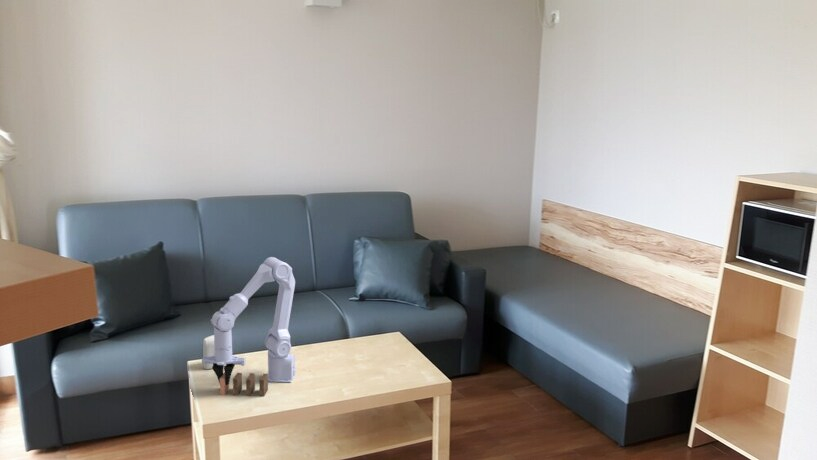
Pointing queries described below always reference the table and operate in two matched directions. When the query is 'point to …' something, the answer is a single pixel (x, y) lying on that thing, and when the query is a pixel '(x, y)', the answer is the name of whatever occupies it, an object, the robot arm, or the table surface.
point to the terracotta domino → (223, 385)
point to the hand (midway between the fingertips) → (224, 383)
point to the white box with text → (209, 350)
